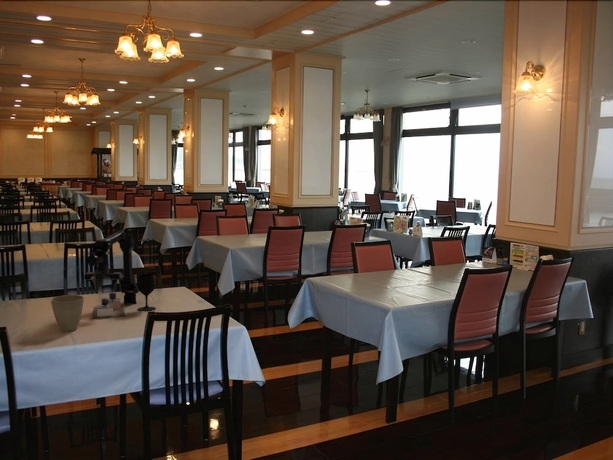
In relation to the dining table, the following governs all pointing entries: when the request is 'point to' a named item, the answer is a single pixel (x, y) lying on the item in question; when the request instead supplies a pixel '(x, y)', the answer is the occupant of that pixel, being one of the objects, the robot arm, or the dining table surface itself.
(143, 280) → the wine glass
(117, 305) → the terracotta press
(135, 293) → the robot arm
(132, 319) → the dining table surface
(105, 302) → the black plunger
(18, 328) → the dining table surface
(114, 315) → the walnut board
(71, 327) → the plant pot
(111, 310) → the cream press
